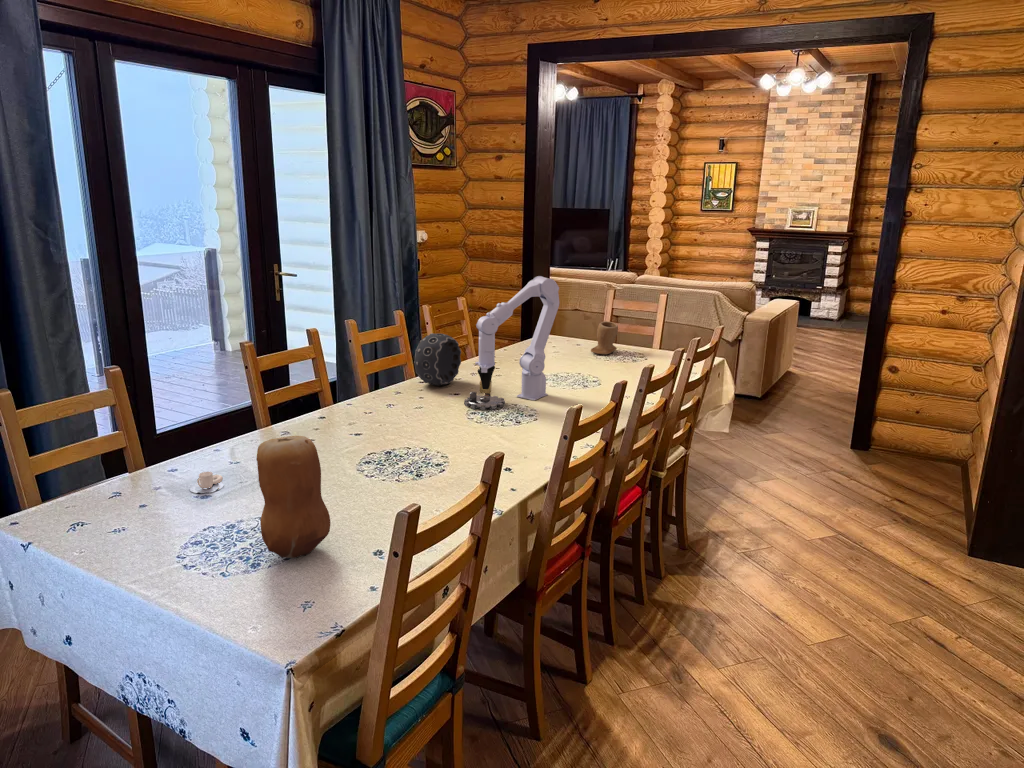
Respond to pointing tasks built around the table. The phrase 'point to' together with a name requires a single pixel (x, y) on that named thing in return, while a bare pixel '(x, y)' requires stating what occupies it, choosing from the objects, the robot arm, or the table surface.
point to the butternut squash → (291, 496)
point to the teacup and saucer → (208, 479)
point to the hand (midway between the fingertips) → (486, 387)
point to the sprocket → (483, 401)
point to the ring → (437, 359)
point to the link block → (486, 389)
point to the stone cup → (606, 338)
